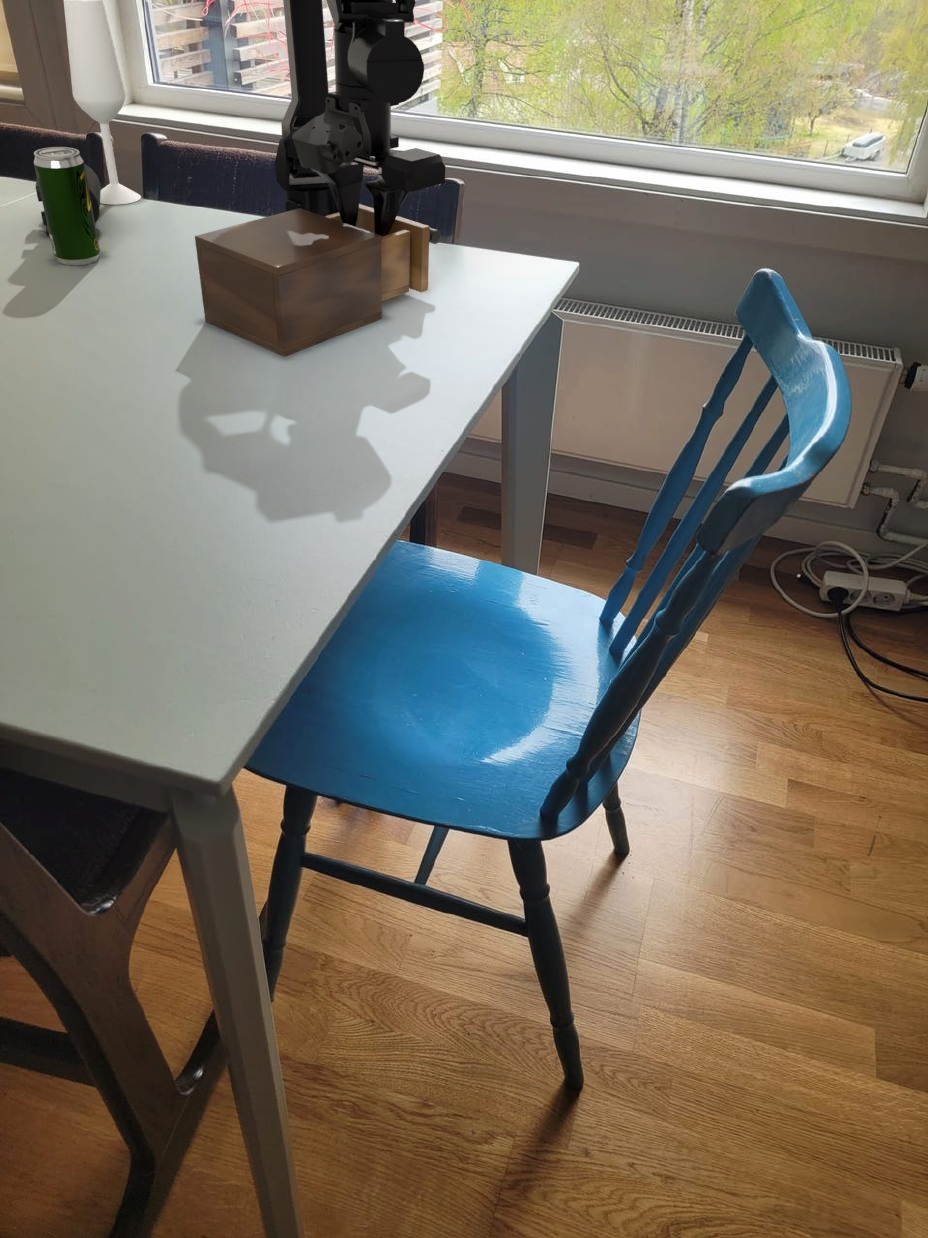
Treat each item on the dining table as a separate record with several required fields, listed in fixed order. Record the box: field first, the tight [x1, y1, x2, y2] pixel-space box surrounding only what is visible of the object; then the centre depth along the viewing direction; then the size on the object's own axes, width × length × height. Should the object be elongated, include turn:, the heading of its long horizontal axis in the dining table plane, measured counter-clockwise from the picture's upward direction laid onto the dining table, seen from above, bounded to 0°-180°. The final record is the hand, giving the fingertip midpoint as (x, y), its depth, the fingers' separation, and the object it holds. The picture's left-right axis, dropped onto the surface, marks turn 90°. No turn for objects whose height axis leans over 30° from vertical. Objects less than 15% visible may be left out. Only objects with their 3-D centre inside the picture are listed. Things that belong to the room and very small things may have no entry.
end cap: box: [35, 163, 102, 238], centre depth 124 cm, size 10×7×7 cm
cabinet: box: [194, 208, 383, 357], centre depth 103 cm, size 15×13×9 cm
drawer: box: [325, 203, 442, 302], centre depth 110 cm, size 18×11×7 cm, turn 140°
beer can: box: [33, 146, 101, 266], centre depth 113 cm, size 5×5×12 cm
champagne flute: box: [63, 0, 142, 206], centre depth 129 cm, size 7×7×24 cm
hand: (365, 237), depth 109 cm, fingers open, 4 cm apart
